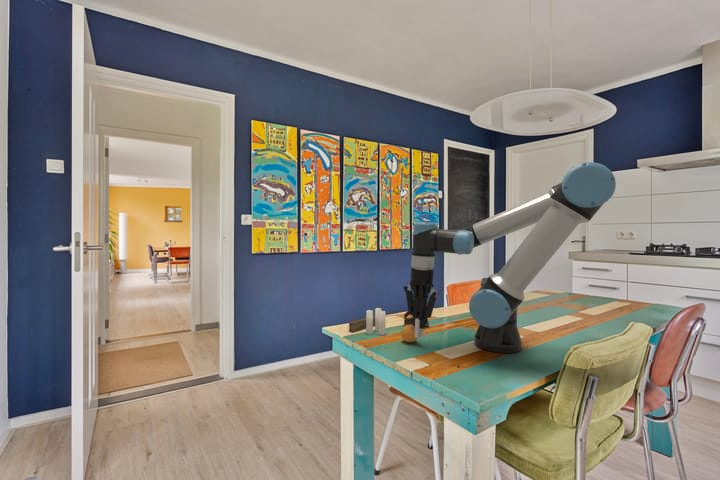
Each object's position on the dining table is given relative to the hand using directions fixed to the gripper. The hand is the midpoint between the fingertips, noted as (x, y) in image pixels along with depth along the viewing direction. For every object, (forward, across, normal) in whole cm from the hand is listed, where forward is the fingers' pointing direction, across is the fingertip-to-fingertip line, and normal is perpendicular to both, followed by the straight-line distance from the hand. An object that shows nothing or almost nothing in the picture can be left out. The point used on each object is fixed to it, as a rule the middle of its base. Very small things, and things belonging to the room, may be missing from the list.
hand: (418, 336), depth 123 cm
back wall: (+4, +26, -1) cm, 26 cm away
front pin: (+3, +16, -1) cm, 16 cm away
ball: (0, +4, 0) cm, 4 cm away
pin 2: (+4, +20, -3) cm, 21 cm away
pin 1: (+4, +20, +2) cm, 21 cm away
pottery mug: (+4, +13, -19) cm, 23 cm away
